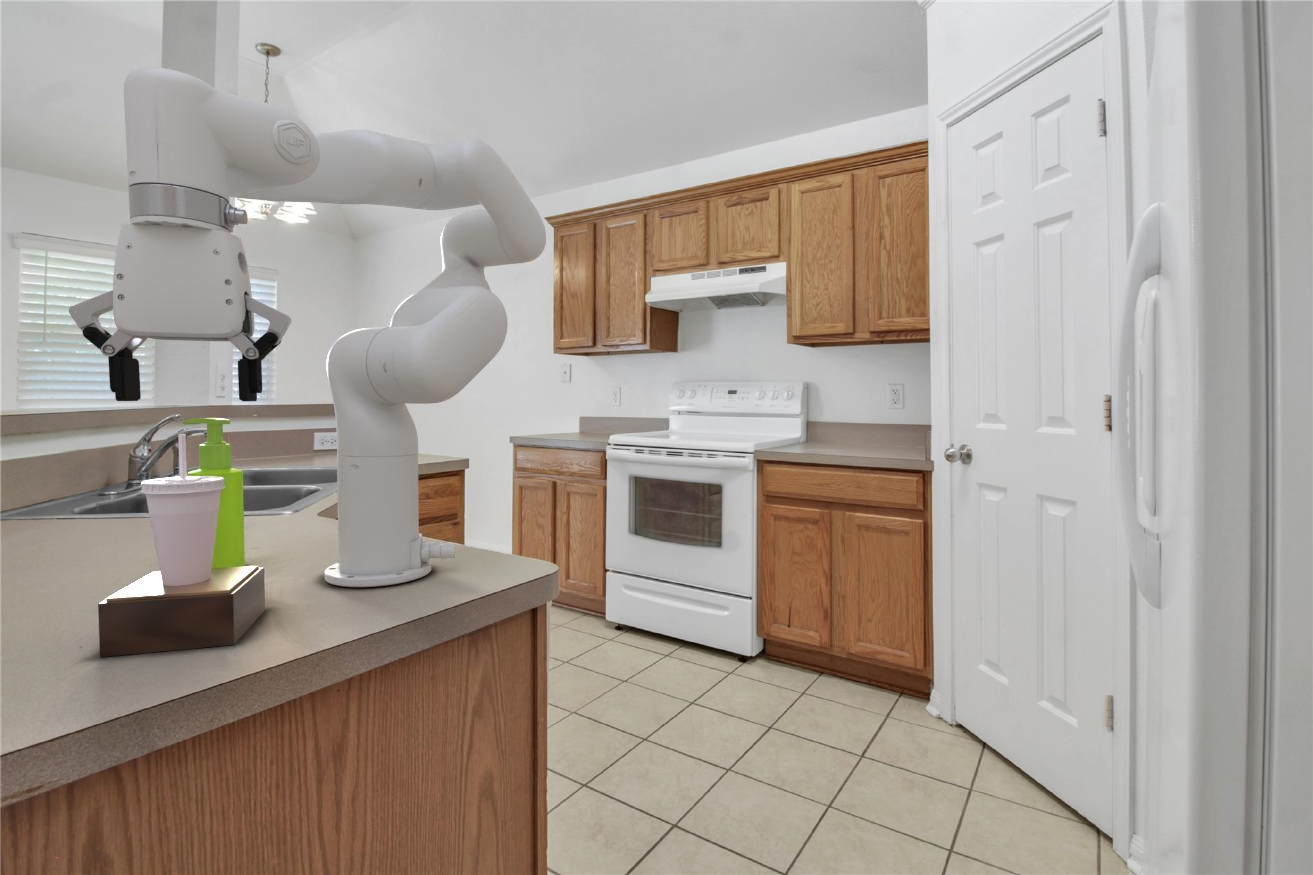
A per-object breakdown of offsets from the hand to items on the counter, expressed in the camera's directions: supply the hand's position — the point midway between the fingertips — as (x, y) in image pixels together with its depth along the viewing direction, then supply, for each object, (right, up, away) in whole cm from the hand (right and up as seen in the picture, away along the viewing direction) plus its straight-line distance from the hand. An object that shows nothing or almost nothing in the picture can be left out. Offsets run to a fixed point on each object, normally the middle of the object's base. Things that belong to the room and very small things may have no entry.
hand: (190, 401), depth 60 cm
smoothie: (-1, -17, 0) cm, 17 cm away
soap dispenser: (-14, -21, +23) cm, 34 cm away
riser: (0, -22, +1) cm, 22 cm away
